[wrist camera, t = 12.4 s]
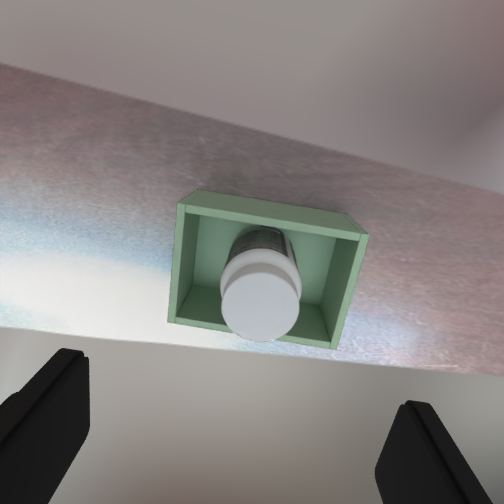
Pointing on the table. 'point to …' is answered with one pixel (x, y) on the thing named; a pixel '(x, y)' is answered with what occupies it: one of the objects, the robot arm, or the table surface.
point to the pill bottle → (261, 284)
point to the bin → (305, 248)
